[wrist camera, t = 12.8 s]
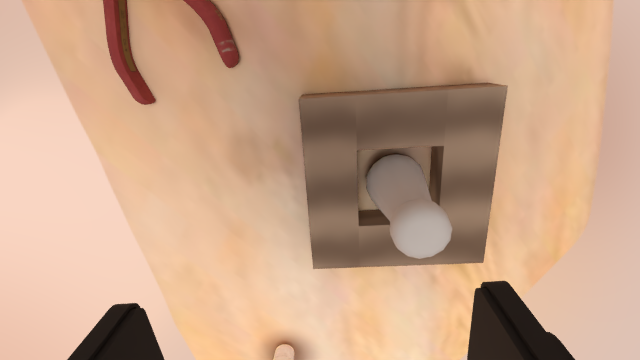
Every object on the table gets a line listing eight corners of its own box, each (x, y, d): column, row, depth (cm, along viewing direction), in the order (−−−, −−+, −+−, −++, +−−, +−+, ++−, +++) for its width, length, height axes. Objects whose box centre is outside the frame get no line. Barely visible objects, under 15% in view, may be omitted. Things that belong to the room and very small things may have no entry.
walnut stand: (302, 94, 32) (298, 98, 28) (488, 82, 31) (507, 85, 28) (314, 250, 38) (313, 268, 35) (469, 244, 37) (483, 262, 34)
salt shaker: (368, 203, 36) (388, 278, 24) (359, 154, 34) (375, 209, 22) (421, 193, 35) (470, 265, 23) (415, 143, 33) (464, 192, 21)
